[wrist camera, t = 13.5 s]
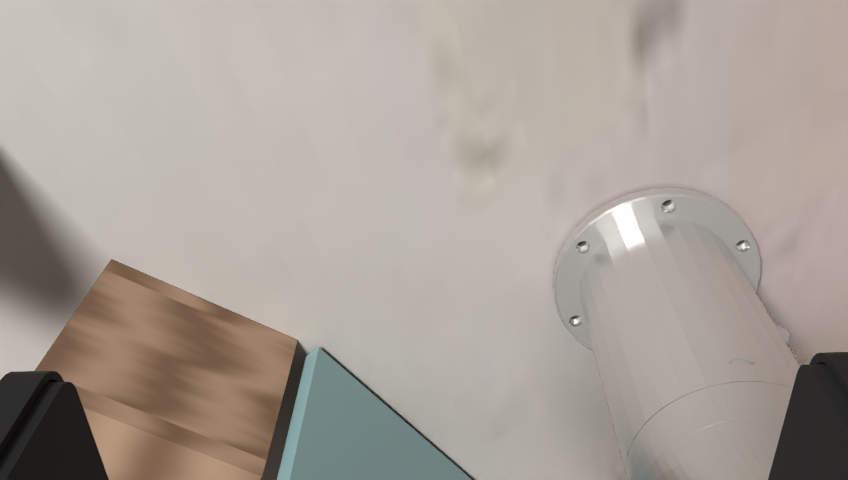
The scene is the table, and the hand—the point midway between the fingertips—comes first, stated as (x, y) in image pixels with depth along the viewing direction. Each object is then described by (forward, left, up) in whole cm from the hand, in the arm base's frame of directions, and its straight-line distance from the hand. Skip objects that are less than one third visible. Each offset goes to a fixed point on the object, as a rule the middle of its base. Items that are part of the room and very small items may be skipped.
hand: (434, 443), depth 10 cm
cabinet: (+3, +37, -35) cm, 50 cm away
